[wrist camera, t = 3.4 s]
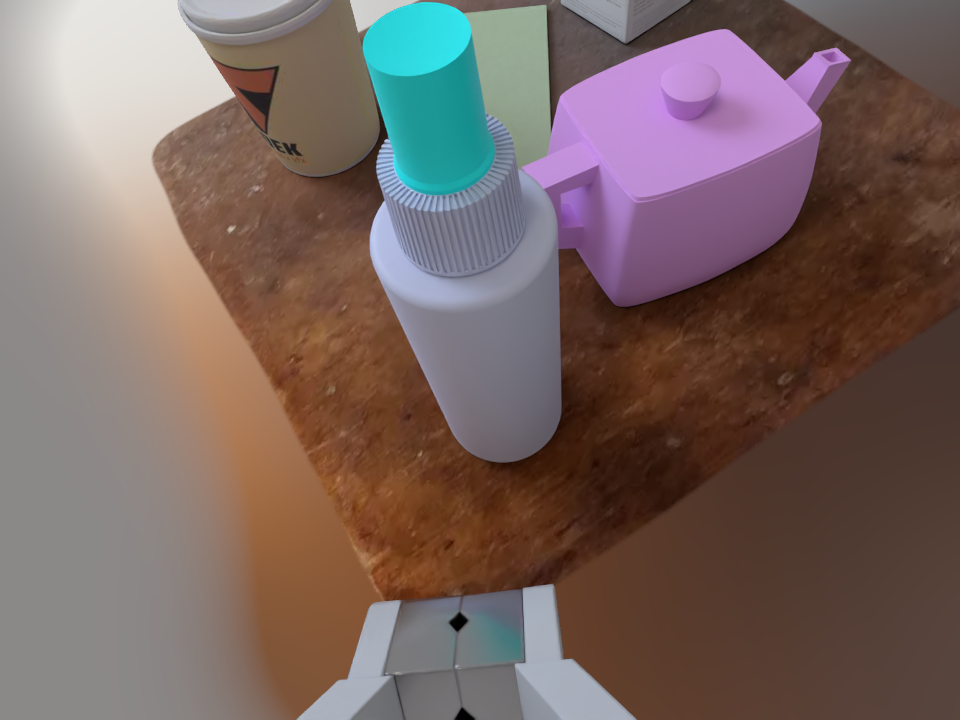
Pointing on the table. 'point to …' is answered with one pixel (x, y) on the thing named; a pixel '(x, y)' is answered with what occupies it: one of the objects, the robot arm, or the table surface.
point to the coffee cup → (294, 76)
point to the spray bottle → (464, 238)
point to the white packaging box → (624, 14)
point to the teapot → (683, 162)
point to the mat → (515, 75)
